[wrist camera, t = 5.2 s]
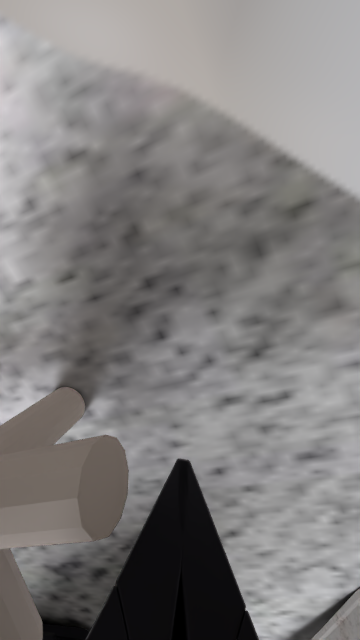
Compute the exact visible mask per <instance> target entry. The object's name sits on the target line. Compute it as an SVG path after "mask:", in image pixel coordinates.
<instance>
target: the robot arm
mask: <svg viewBox="0 0 360 640" xmlns="http://www.w3.org/2000/svg"><path fill="white" fill-rule="evenodd" d="M245 609H246V605H245V603H244V600H243V597H242V595H241V592H240V590H239V587H238V584H237V582H236V579H235V577H234V574H233V572H232V569H231V566H230V564H229V561H228V559H227V556H226V553H225V551H224V548H223V546H222V543H221V540H220V538H219V535H218V533H217V530H216V528H215V525H214V522H213V520H212V517H211V515H210V512H209V509H208V507H207V504H206V502H205V499H204V496H203V494H202V491H201V489H200V486H199V484H198V481H197V478H196V476H195V473H194V471H193V468H192V465H191V463H190V461H189V460H185V459H177V461H176V463H175V465H174V467H173V469H172V471H171V473H170V475H169V477H168V479H167V481H166V483H165V485H164V487H163V489H162V491H161V493H160V495H159V497H158V499H157V501H156V503H155V505H154V507H153V509H152V511H151V513H150V515H149V517H148V519H147V521H146V523H145V525H144V527H143V529H142V531H141V532H140V534H139V536H138V538H137V540H136V542H135V544H134V546H133V548H132V550H131V552H130V554H129V556H128V558H127V560H126V562H125V564H124V566H123V568H122V570H121V572H120V574H119V576H118V578H117V580H116V584H115V586H113V588H112V590H111V592H110V594H109V596H108V598H107V600H106V602H105V604H104V606H103V608H102V610H101V612H100V613H99V615H98V617H97V619H96V621H95V623H94V625H93V627H92V628H91V630H90V632H89V631H88V630H86V629H83V628H75V627H66V626H57V625H49V624H42V626H43V640H259V638H258V636H257V633H256V631H255V628H254V625H253V623H252V620H251V618H250V615H249V613H248V611H245Z"/></svg>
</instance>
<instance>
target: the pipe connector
mask: <svg viewBox="0 0 360 640" xmlns="http://www.w3.org/2000/svg"><path fill="white" fill-rule="evenodd" d="M84 412H85V403H84V400H83V398H82V396H81V395H80V394H79V393H78V392H77V391H76V390H74V389H72V388H69V387H61V388H59V389H57V390H55V391H54V392H52V393H51V394H49V395H47V396H46V397H44V398H43V399H41V400H40V401H38V402H37V403H35V404H34V405H32V406H30V407H29V408H27V409H26V410H24V411H23V412H21V413H20V414H18V415H17V416H15V417H13V418H12V419H10V420H9V421H7V422H6V423H4V424H3V425H1V426H0V640H43V626H42V620H41V617H40V615H39V613H38V611H37V608H36V606H35V604H34V602H33V599H32V597H31V595H30V593H29V590H28V588H27V586H26V584H25V581H24V579H23V577H22V574H21V572H20V570H19V568H18V565H17V563H16V561H15V559H14V556H13V554H12V552H11V550H10V548H19V547H31V546H43V545H56V544H68V543H80V542H93V541H97V540H100V539H103V538H106V537H109V536H110V534H111V533H112V531H113V530H114V528H115V527H116V525H117V524H118V522H119V520H120V519H121V516H122V513H123V509H124V505H125V501H126V498H127V494H128V472H129V470H128V465H127V460H126V454H125V450H124V449H123V447H122V445H121V444H120V442H119V441H118V439H117V438H115V437H112V436H108V435H102V436H97V437H92V438H87V439H82V440H77V441H71V442H66V443H61V444H56V445H54V444H55V443H56V442H57V441H58V440H59V439H60V438H61V437H62V436H63V435H64V434H65V433H66V432H67V431H68V430H69V429H70V428H71V427H72V426H73V425H74V424H75V423H76V422H77V421H78V420H79V419H80V418H81V417H82V416H83V414H84Z"/></svg>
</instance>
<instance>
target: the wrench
mask: <svg viewBox="0 0 360 640" xmlns="http://www.w3.org/2000/svg"><path fill="white" fill-rule="evenodd" d="M311 640H360V588H359V589H358V590H357V591H356V592H355V593H354V594H353V595H352V596H351V597H350V598H349V599H348V601H347V602H346V603H345V604H344V605H343V606H342V607H341V608H340V609H339V610H338V611H337V612H336V613H335V615H334V616H333V617H332V618H331V619H330V620H329V621H328V622H327V623H326V624H325V625H324V626H323V628H322V629H321V630H320V631H319V632H318V633H317V634H316V635H315V636H314V637H313V638H312V639H311Z"/></svg>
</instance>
